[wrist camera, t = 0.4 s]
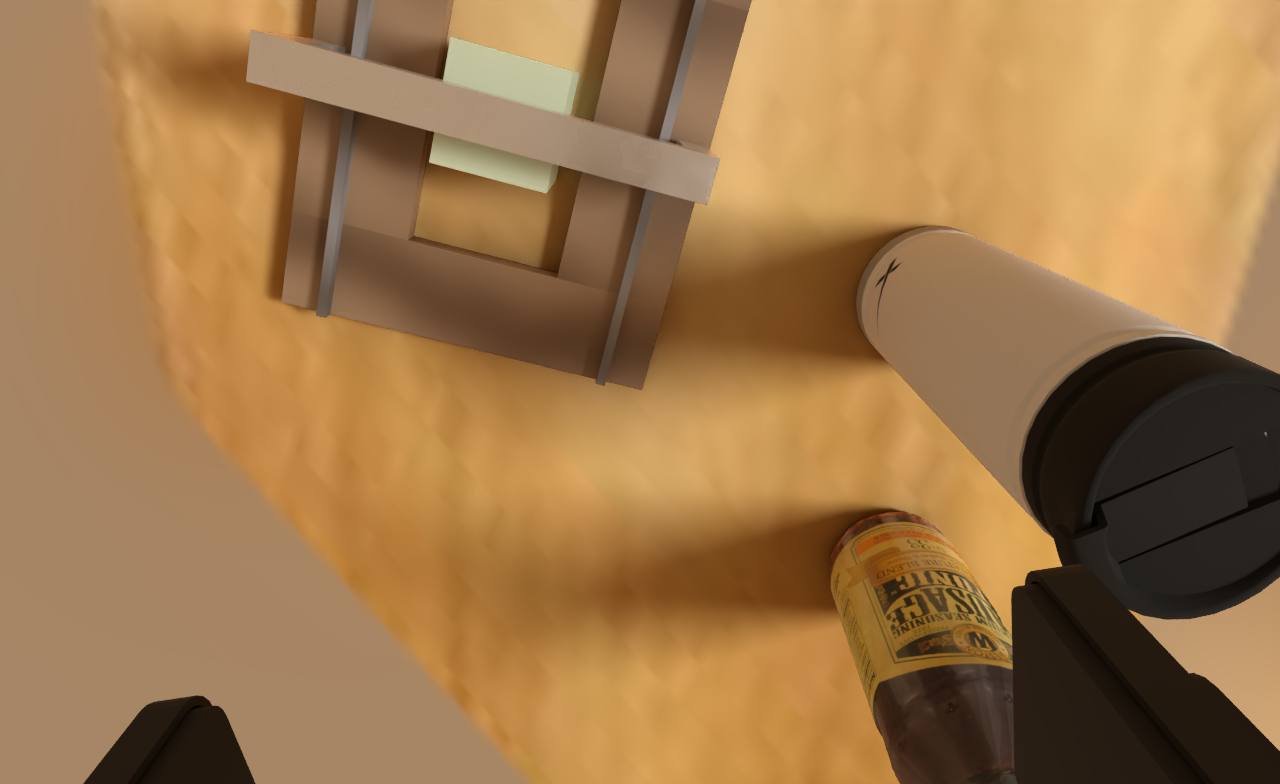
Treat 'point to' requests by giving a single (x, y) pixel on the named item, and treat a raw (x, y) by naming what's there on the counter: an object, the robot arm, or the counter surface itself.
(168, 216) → the counter surface
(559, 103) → the block
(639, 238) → the board
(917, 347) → the travel mug
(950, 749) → the sauce bottle
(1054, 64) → the counter surface
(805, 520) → the counter surface
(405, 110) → the gate
